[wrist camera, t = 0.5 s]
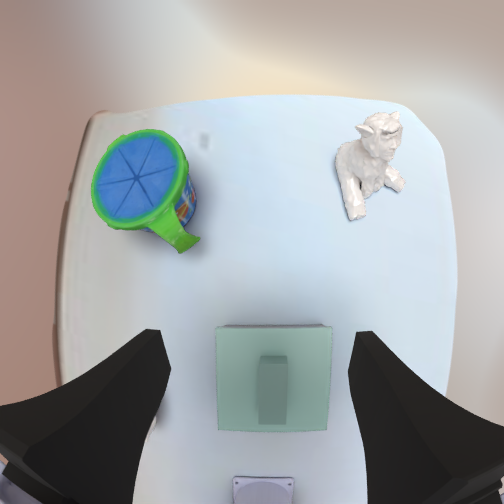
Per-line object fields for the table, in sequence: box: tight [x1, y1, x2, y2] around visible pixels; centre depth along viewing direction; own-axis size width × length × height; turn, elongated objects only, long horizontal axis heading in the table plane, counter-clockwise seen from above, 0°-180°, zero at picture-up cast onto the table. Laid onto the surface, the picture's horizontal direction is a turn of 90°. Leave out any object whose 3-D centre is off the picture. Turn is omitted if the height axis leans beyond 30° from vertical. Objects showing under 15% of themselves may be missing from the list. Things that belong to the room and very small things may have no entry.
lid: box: [216, 326, 332, 432], centre depth 25 cm, size 11×11×5 cm
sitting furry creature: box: [335, 112, 406, 220], centre depth 27 cm, size 10×9×12 cm
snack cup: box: [91, 129, 200, 253], centre depth 30 cm, size 16×10×10 cm
